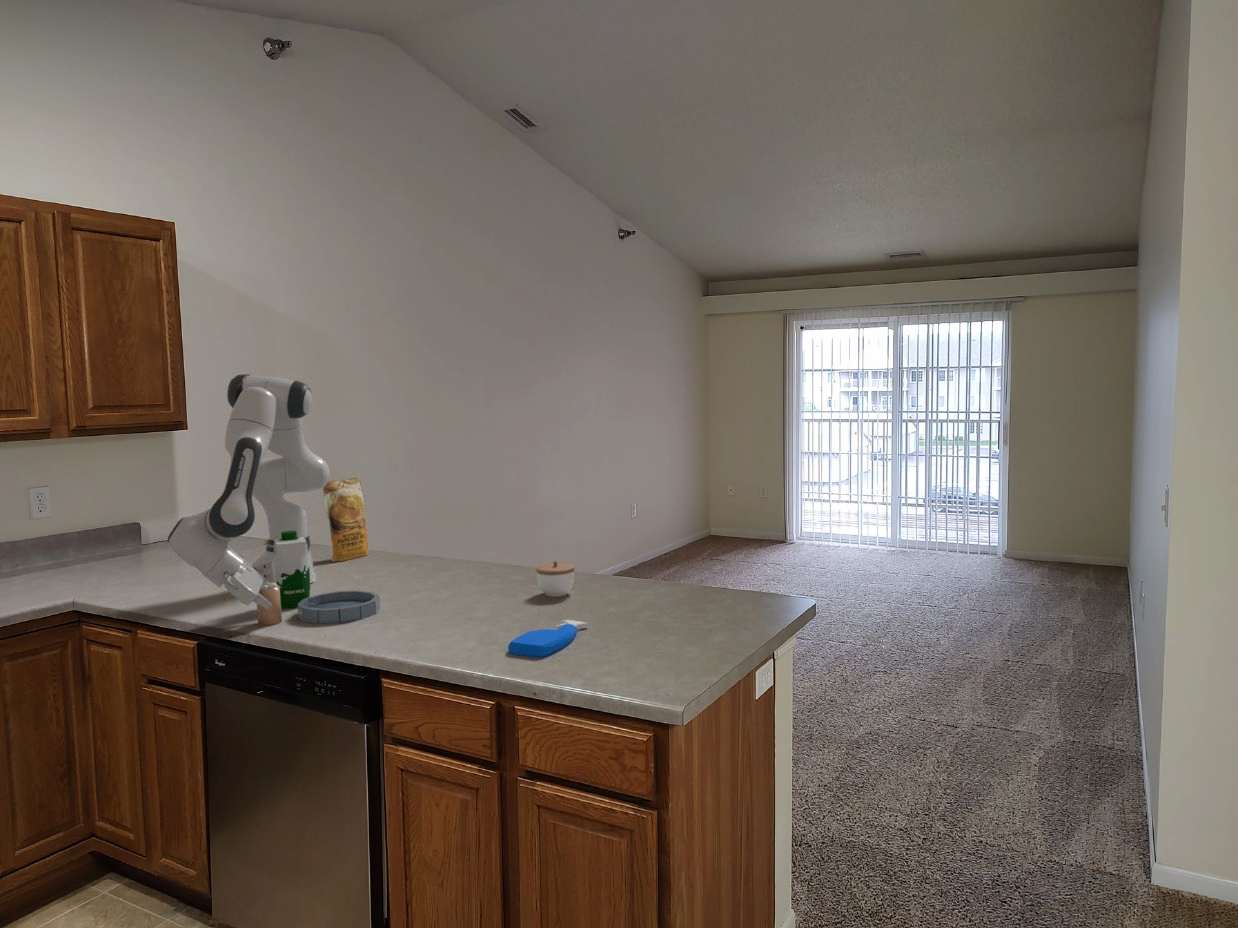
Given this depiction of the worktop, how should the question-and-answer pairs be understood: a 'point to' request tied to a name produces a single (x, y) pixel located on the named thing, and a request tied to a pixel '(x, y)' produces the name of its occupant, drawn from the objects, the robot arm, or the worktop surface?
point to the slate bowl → (338, 606)
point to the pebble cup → (274, 612)
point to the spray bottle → (546, 639)
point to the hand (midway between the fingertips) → (271, 603)
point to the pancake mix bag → (346, 519)
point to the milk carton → (292, 568)
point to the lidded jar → (555, 578)
